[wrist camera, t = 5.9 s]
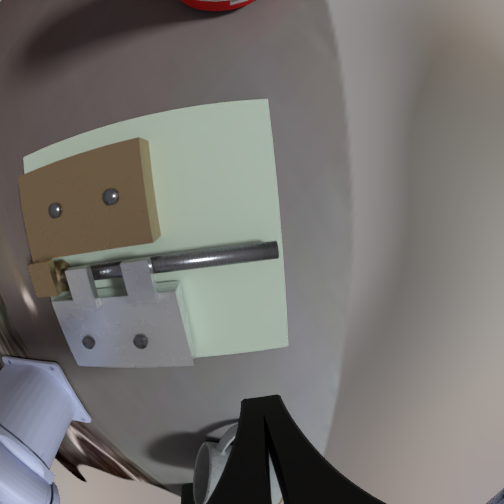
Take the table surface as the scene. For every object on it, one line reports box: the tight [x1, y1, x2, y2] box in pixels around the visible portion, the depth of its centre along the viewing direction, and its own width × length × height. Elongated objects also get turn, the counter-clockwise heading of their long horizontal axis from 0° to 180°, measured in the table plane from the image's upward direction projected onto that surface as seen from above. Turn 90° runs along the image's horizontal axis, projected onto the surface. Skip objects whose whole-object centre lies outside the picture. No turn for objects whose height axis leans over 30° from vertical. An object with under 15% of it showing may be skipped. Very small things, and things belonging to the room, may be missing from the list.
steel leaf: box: [52, 257, 196, 367], centre depth 15 cm, size 9×7×2 cm
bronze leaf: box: [18, 137, 279, 298], centre depth 14 cm, size 16×8×2 cm, turn 96°
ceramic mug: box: [193, 424, 283, 504], centre depth 19 cm, size 11×8×8 cm
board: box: [23, 99, 288, 357], centre depth 16 cm, size 17×16×1 cm
